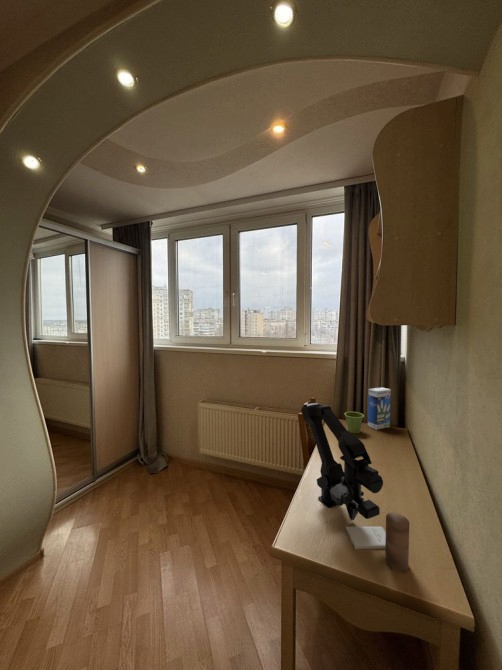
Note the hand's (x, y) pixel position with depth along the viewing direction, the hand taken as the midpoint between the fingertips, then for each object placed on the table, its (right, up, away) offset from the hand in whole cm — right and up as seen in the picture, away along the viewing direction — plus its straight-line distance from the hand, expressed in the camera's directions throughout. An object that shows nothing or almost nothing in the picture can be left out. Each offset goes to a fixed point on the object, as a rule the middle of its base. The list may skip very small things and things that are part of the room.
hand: (351, 519), depth 96 cm
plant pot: (+31, +2, +80) cm, 85 cm away
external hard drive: (+3, -2, -7) cm, 8 cm away
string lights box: (+51, +3, +88) cm, 102 cm away
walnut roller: (+7, -2, -16) cm, 18 cm away
